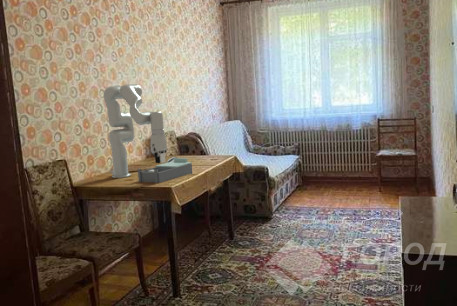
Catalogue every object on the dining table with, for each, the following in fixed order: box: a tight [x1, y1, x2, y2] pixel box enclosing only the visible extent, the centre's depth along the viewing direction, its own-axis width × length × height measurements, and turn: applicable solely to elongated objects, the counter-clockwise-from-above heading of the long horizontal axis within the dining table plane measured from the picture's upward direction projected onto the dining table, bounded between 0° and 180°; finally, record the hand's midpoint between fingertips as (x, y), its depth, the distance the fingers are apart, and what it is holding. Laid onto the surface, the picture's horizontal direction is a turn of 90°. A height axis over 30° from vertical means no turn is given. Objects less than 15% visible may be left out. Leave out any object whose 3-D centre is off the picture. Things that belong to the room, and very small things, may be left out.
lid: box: [155, 157, 192, 168], centre depth 280 cm, size 16×16×3 cm
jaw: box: [155, 152, 167, 164], centre depth 264 cm, size 5×4×6 cm
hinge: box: [165, 156, 178, 163], centre depth 306 cm, size 17×5×10 cm, turn 157°
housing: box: [137, 163, 193, 184], centre depth 273 cm, size 16×34×9 cm, turn 149°
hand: (160, 162), depth 264 cm, fingers closed on jaw, 4 cm apart
